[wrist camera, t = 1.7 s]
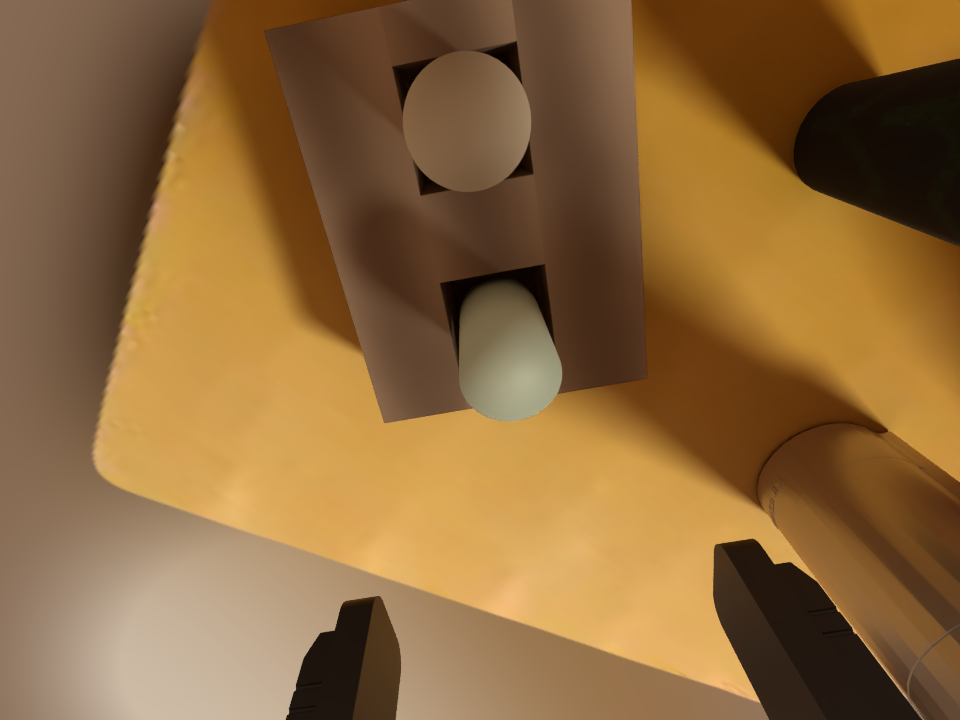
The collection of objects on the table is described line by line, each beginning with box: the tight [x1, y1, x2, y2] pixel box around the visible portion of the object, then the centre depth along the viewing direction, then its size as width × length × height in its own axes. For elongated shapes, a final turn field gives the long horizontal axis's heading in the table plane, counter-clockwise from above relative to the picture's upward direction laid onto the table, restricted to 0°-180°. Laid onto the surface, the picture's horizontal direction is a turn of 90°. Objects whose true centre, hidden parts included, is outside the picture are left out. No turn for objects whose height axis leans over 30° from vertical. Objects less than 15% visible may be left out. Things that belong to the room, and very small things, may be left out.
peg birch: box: [403, 51, 531, 192], centre depth 19 cm, size 4×4×7 cm
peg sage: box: [459, 277, 562, 421], centre depth 23 cm, size 4×4×7 cm
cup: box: [794, 59, 960, 246], centre depth 22 cm, size 8×8×12 cm
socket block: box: [264, 0, 647, 423], centre depth 26 cm, size 14×18×6 cm
